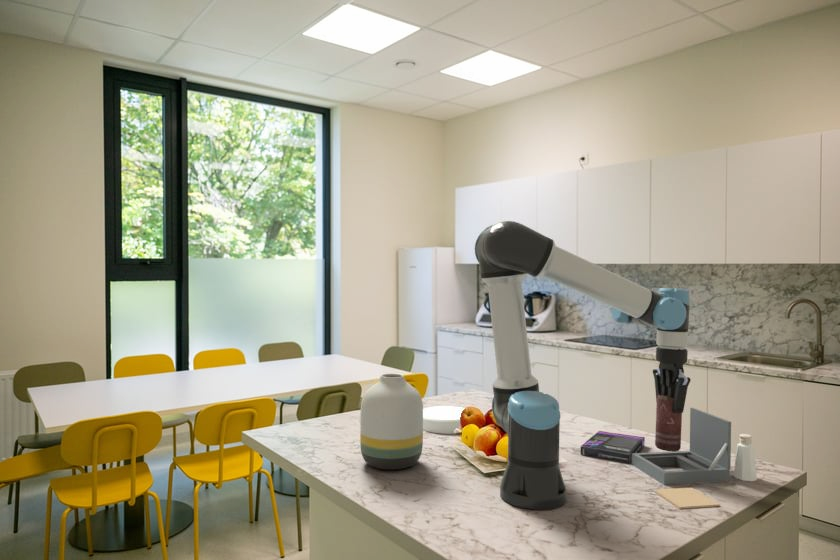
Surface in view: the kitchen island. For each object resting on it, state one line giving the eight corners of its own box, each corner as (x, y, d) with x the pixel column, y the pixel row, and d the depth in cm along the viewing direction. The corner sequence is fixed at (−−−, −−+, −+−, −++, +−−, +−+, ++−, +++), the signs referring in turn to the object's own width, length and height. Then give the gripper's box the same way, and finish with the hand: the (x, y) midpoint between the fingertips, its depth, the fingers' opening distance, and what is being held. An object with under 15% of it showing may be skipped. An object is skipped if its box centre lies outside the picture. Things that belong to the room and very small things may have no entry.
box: (598, 441, 178) (579, 456, 161) (598, 430, 178) (579, 444, 161) (645, 448, 170) (629, 465, 154) (645, 437, 170) (630, 452, 154)
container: (446, 415, 206) (446, 402, 206) (488, 426, 191) (488, 413, 191) (405, 425, 192) (405, 411, 192) (446, 438, 177) (446, 423, 177)
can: (684, 452, 143) (686, 398, 143) (657, 450, 145) (659, 396, 144) (678, 445, 149) (680, 393, 149) (652, 443, 151) (654, 391, 150)
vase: (435, 463, 153) (436, 375, 152) (390, 480, 140) (391, 384, 140) (392, 449, 164) (392, 368, 164) (347, 463, 152) (347, 375, 152)
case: (664, 484, 139) (665, 424, 139) (631, 464, 153) (632, 409, 153) (730, 481, 142) (731, 421, 141) (692, 461, 156) (692, 407, 156)
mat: (679, 508, 125) (679, 507, 125) (653, 491, 134) (653, 489, 134) (720, 506, 126) (720, 504, 126) (691, 489, 136) (691, 487, 136)
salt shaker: (736, 472, 148) (737, 430, 148) (760, 477, 144) (760, 435, 144) (730, 477, 144) (730, 434, 144) (753, 483, 140) (754, 439, 140)
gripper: (701, 350, 141) (698, 444, 141) (669, 343, 154) (666, 429, 154) (674, 350, 139) (671, 445, 140) (644, 343, 153) (641, 430, 153)
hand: (668, 436), depth 147 cm, fingers closed
